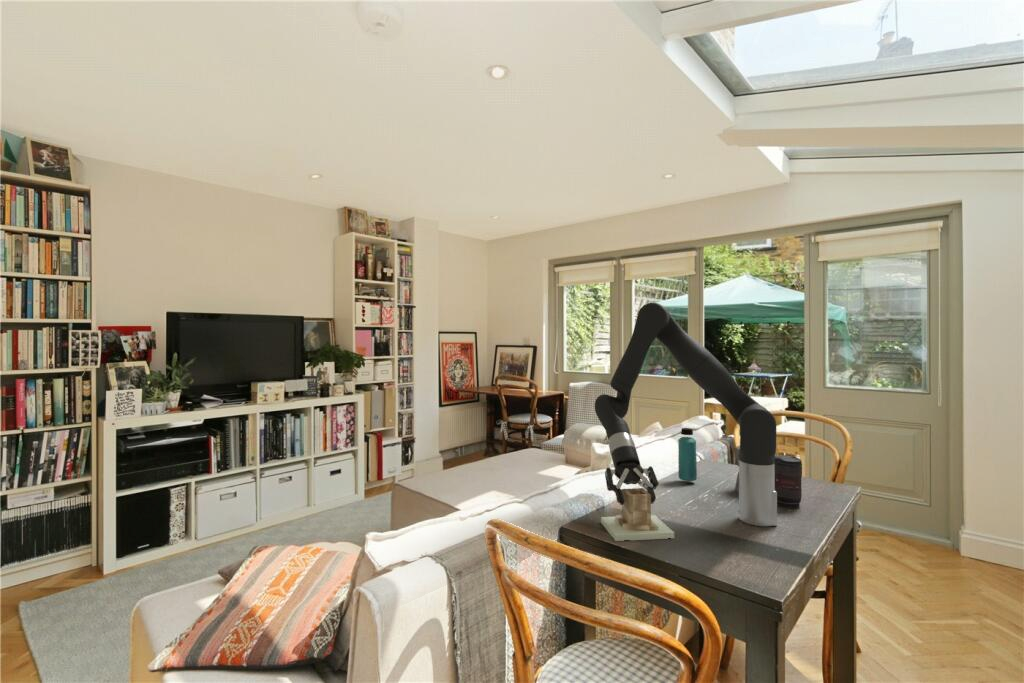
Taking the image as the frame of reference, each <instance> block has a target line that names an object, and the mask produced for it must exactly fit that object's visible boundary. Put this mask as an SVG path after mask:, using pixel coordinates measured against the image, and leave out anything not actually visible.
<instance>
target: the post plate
mask: <svg viewBox="0 0 1024 683" xmlns="http://www.w3.org/2000/svg"><path fill="white" fill-rule="evenodd" d="M651 520H652V521H653V522H654V523H655V524H656V525H657V526H658V530H651V531H628V532H626V531H625V530H624V529H623V528H622V523H624V519H620V524H619V523H618V522H617V521H616V520H615V516H601V517H600V523H601V525H602V526H603V527H604V528H605V530H606V531H607V532H608V534H610V536H611V537H612V538H613V540H614V541H615V542H622V541H623V542H625V541H624V540H630V541H648V540H665V539H666V540H668V538H671V539H675V531H673V530H672V529H671V528H670V527H668V525H667V524H665V523H664V522H663V521H662V520H661V519H660V518H659V517H657V515H655V514H651Z"/></svg>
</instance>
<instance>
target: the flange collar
mask: <svg viewBox="0 0 1024 683" xmlns="http://www.w3.org/2000/svg"><path fill="white" fill-rule="evenodd" d="M621 489H622V493H623V497H624V504H623V505H621V515H614V517H615V520H616V521H617V522H618V523H619V524H620V519H624V523H622V528H623V529H624V530H625V531H626V532H628V531H651V530H658V526H657V525H656V524H655V523H654V522H653V521H652V520H651V515H652V514H651V513H652V504H651V495H650V494H649V493H648V492H647V490H646V489H645V488H644V487H639V488H637V487H636V488H621Z"/></svg>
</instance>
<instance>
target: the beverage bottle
mask: <svg viewBox="0 0 1024 683" xmlns="http://www.w3.org/2000/svg"><path fill="white" fill-rule="evenodd" d="M680 434H681V435H683V436H681V437H680V438H678V440H677V442H678V444H677V445H678V458H677V459H678V462H677V463H678V467H677V468H678V473H677V474H678V478H679V480H682V481H684V482H695V481H696V480H697V478H698V475H697V474H698V469H697V464H698V460H697V441H696V439H695V438H694V437H691V436H693V435H694V430H693V428H691V427H690V428H689V427H682V428H681V431H680Z"/></svg>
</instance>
